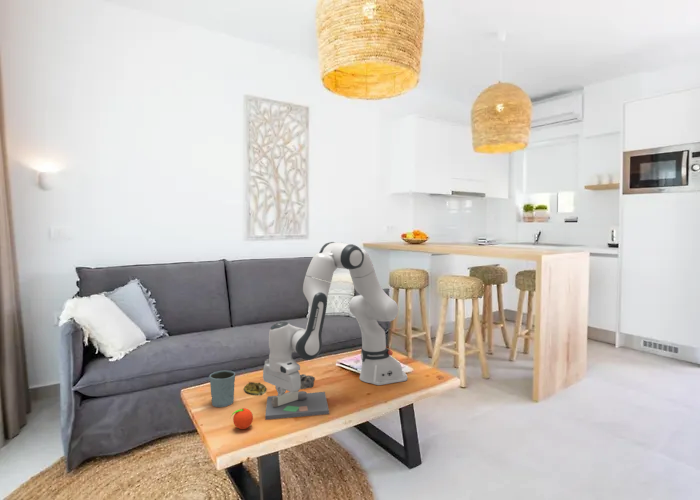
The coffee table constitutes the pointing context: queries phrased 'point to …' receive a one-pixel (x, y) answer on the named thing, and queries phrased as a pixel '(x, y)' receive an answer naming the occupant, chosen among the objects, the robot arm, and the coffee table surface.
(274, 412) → the dial board
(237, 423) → the clementine
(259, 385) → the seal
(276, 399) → the control lever
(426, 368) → the coffee table surface
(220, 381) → the grey-green cup
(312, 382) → the fossil rock
